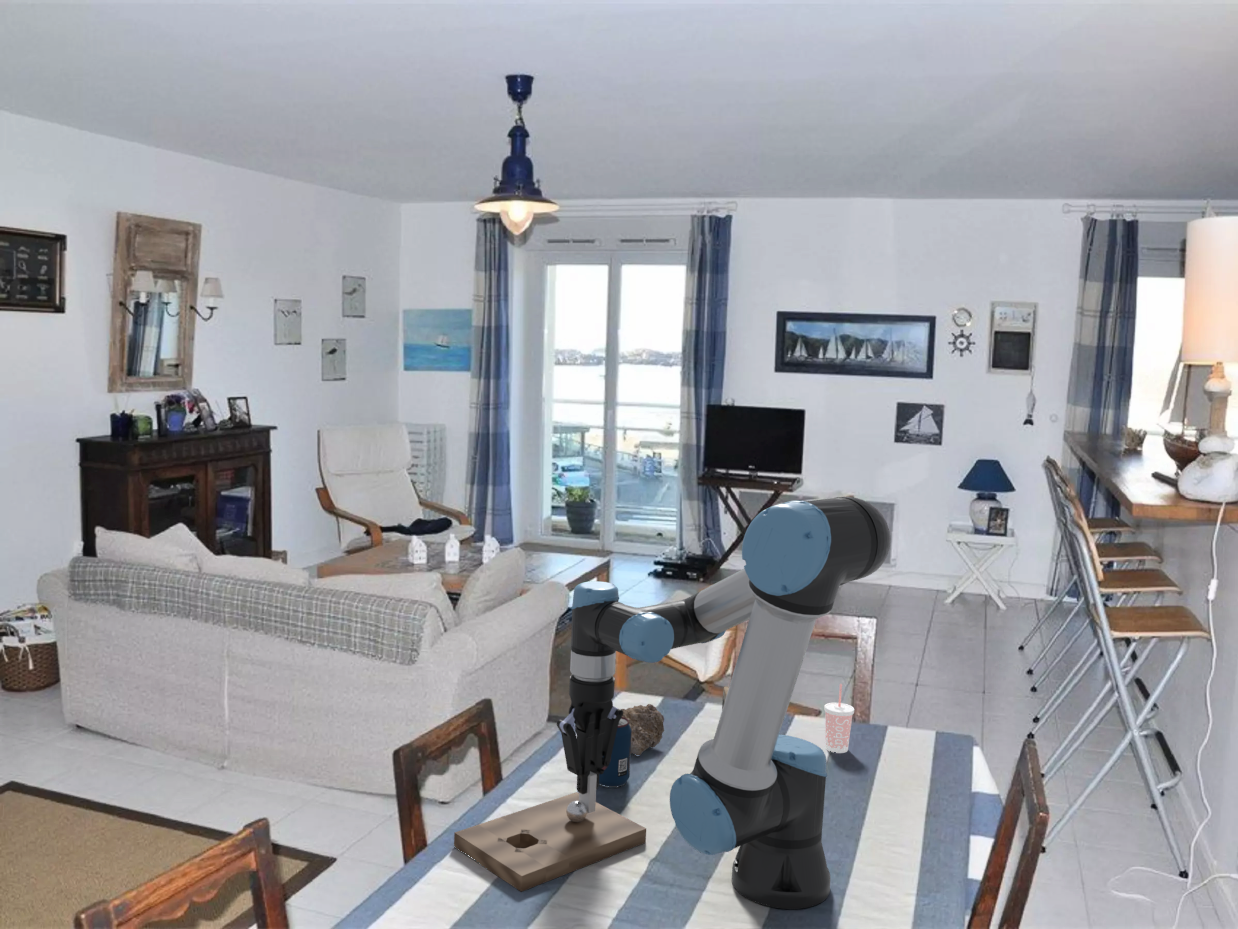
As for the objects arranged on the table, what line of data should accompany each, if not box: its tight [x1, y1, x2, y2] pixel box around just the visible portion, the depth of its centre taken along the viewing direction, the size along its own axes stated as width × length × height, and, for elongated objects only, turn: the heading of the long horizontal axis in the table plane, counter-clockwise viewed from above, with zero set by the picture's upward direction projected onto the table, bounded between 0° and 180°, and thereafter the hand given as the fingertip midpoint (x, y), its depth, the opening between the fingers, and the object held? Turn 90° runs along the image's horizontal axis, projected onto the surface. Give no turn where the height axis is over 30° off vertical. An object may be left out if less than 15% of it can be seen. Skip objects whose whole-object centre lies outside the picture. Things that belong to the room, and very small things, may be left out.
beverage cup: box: [823, 683, 855, 754], centre depth 225 cm, size 6×6×14 cm
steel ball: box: [566, 801, 587, 823], centre depth 182 cm, size 4×4×4 cm
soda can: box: [599, 717, 632, 788], centre depth 204 cm, size 7×7×12 cm
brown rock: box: [620, 703, 665, 756], centre depth 222 cm, size 14×9×10 cm, turn 123°
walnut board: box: [453, 791, 647, 893], centre depth 178 cm, size 18×26×2 cm
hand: (586, 809), depth 183 cm, fingers closed
